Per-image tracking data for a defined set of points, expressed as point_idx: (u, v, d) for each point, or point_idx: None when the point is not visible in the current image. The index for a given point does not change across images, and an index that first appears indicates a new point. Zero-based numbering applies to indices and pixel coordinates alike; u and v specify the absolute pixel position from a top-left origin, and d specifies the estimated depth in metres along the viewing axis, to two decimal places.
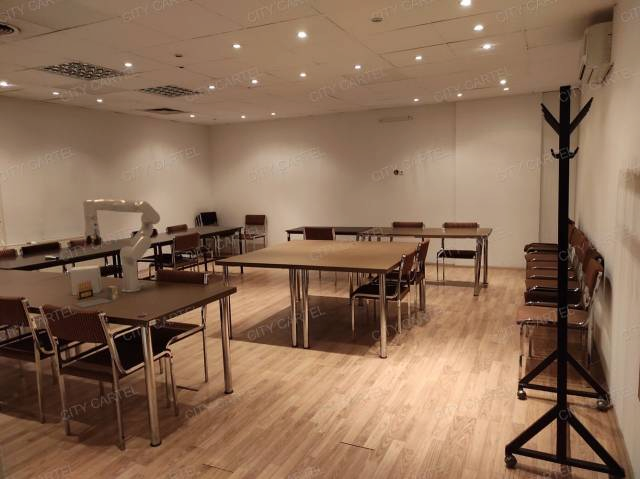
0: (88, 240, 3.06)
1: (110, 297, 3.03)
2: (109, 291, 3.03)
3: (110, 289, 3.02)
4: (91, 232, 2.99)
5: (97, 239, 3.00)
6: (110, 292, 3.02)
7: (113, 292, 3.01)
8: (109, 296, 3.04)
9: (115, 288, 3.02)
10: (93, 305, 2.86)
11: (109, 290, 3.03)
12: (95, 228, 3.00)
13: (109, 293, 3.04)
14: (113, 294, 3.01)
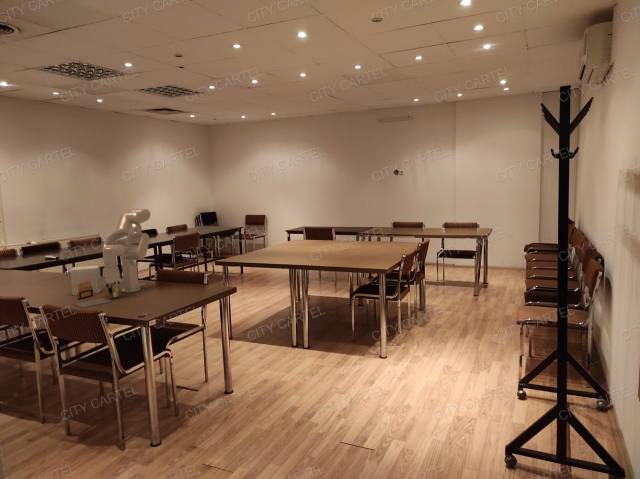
0: None
1: (111, 295, 3.04)
2: None
3: None
4: (118, 278, 3.05)
5: None
6: None
7: (114, 290, 3.02)
8: (110, 294, 3.05)
9: (115, 286, 3.03)
10: (93, 305, 2.86)
11: None
12: None
13: None
14: (114, 291, 3.02)
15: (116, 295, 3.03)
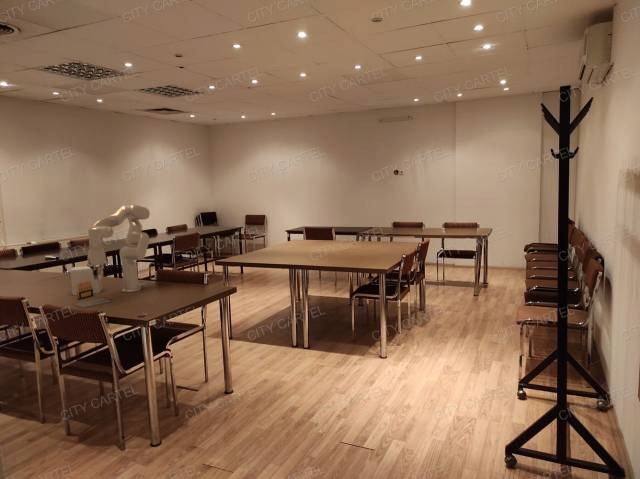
0: None
1: (96, 277, 2.94)
2: None
3: (96, 269, 2.92)
4: (104, 260, 2.95)
5: None
6: None
7: (99, 272, 2.92)
8: (95, 276, 2.94)
9: (101, 268, 2.93)
10: (93, 305, 2.86)
11: None
12: None
13: None
14: (99, 274, 2.92)
15: (101, 278, 2.93)
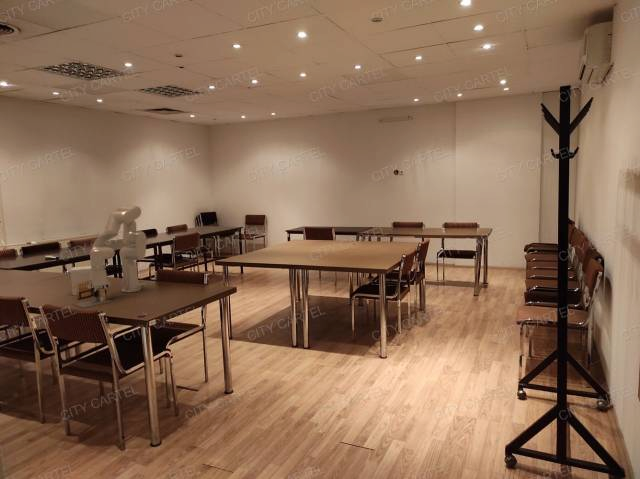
0: None
1: (98, 299, 2.95)
2: (97, 293, 2.95)
3: (98, 291, 2.94)
4: (105, 281, 2.96)
5: None
6: (98, 294, 2.94)
7: (101, 294, 2.93)
8: (97, 298, 2.96)
9: (103, 290, 2.94)
10: (93, 305, 2.86)
11: (97, 292, 2.95)
12: None
13: (97, 295, 2.96)
14: (101, 296, 2.93)
15: (103, 300, 2.94)
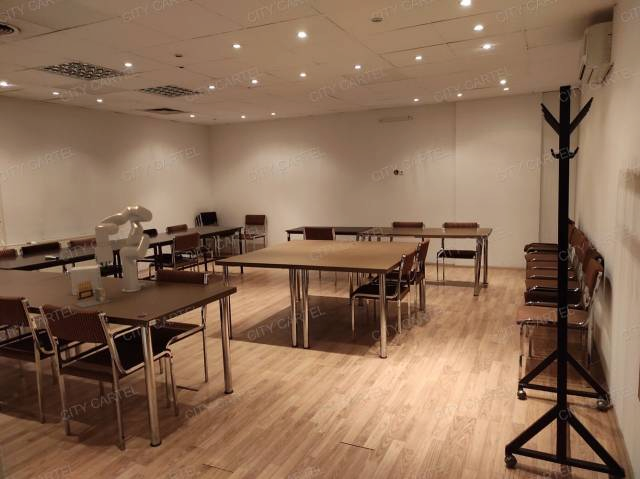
0: None
1: (98, 299, 2.95)
2: (97, 293, 2.95)
3: (98, 291, 2.94)
4: (111, 257, 2.98)
5: None
6: (98, 294, 2.94)
7: (101, 294, 2.93)
8: (97, 298, 2.96)
9: (103, 290, 2.94)
10: (93, 305, 2.86)
11: (97, 292, 2.95)
12: None
13: (97, 295, 2.96)
14: (101, 296, 2.93)
15: (103, 300, 2.94)
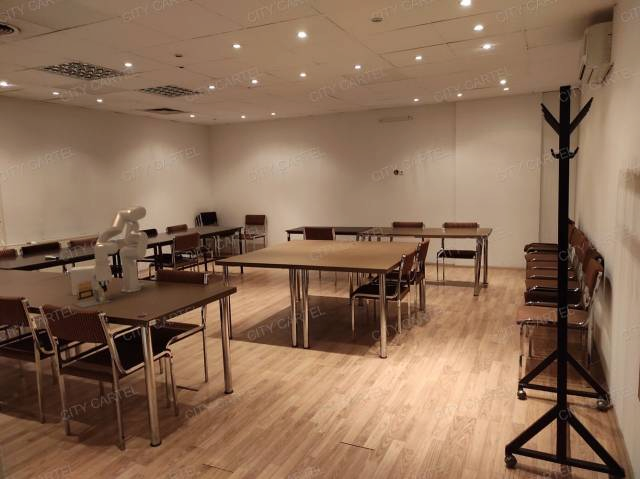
0: None
1: (97, 299, 2.95)
2: (96, 293, 2.95)
3: (96, 291, 2.93)
4: (109, 276, 2.98)
5: None
6: (97, 294, 2.94)
7: (100, 294, 2.93)
8: (96, 298, 2.96)
9: (101, 290, 2.93)
10: (93, 305, 2.86)
11: (96, 292, 2.95)
12: None
13: (96, 295, 2.95)
14: (100, 296, 2.93)
15: (103, 300, 2.94)
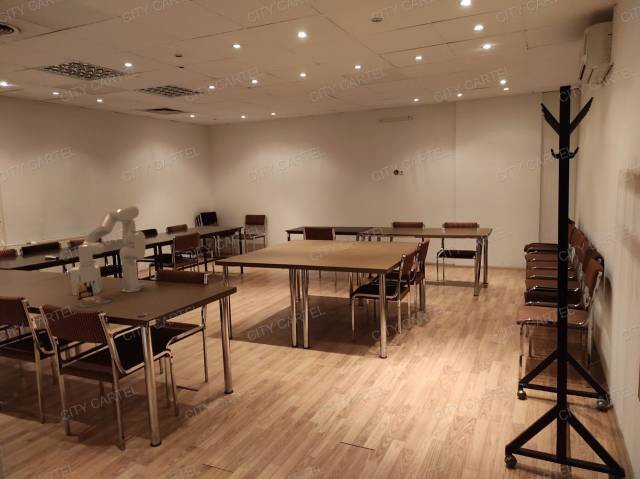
0: None
1: None
2: None
3: None
4: (95, 277, 2.92)
5: None
6: None
7: (92, 302, 2.90)
8: None
9: (88, 301, 2.88)
10: (93, 305, 2.86)
11: None
12: None
13: None
14: (95, 302, 2.91)
15: (99, 299, 2.92)
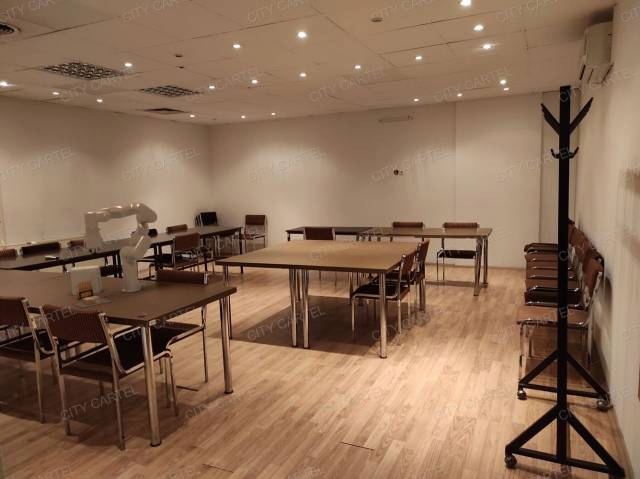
0: None
1: None
2: None
3: None
4: (100, 243, 3.00)
5: None
6: None
7: (92, 302, 2.90)
8: None
9: (88, 301, 2.88)
10: (93, 305, 2.86)
11: None
12: None
13: None
14: (95, 302, 2.91)
15: (99, 299, 2.92)
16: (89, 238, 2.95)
